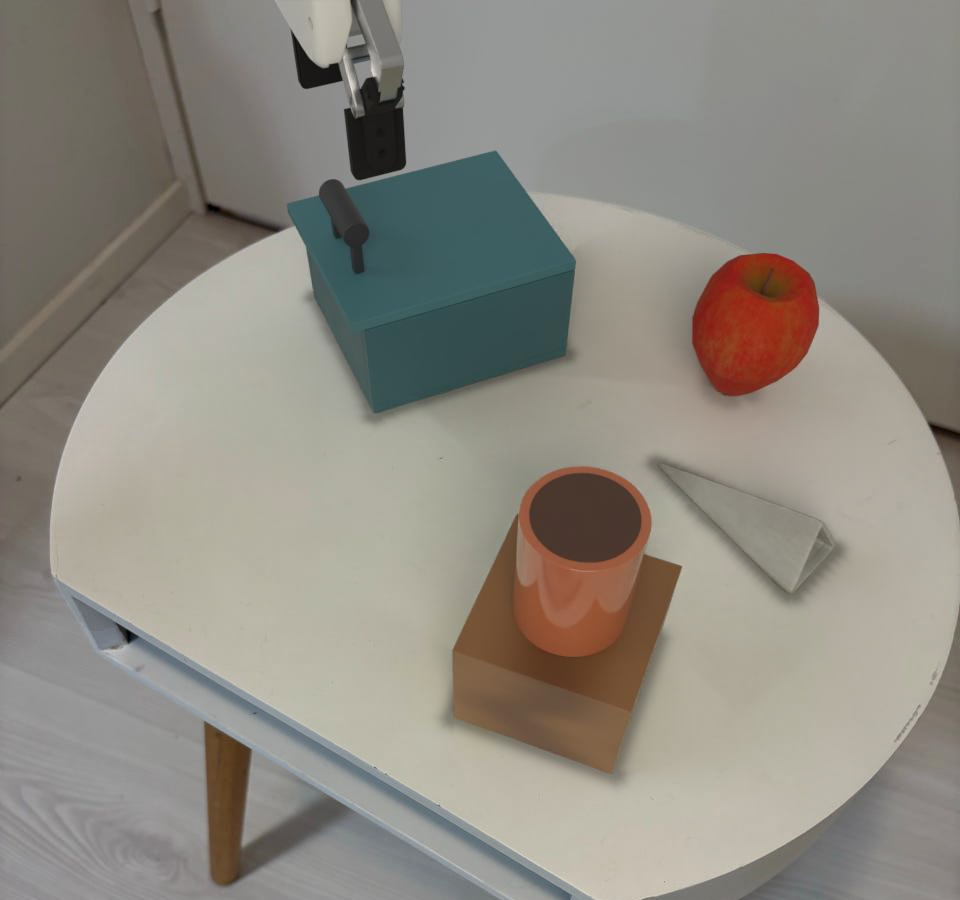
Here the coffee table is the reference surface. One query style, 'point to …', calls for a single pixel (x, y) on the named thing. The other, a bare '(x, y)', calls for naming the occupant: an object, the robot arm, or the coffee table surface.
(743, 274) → the apple
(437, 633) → the coffee table surface
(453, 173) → the cool box lid
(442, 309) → the cool box
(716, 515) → the grey triangular spike
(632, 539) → the cup
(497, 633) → the stand
